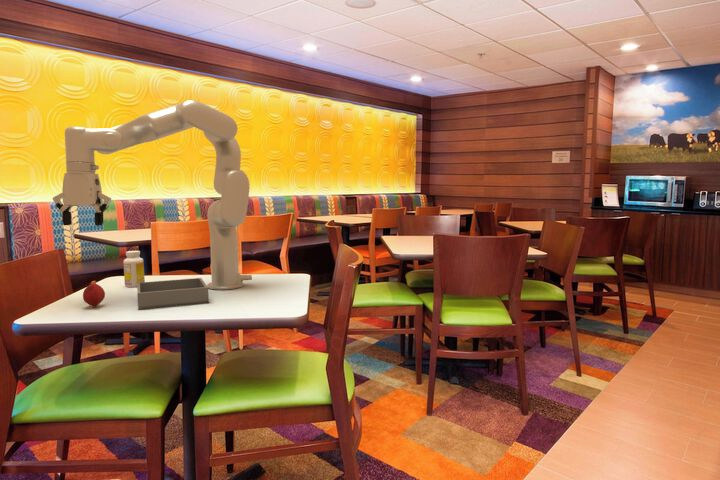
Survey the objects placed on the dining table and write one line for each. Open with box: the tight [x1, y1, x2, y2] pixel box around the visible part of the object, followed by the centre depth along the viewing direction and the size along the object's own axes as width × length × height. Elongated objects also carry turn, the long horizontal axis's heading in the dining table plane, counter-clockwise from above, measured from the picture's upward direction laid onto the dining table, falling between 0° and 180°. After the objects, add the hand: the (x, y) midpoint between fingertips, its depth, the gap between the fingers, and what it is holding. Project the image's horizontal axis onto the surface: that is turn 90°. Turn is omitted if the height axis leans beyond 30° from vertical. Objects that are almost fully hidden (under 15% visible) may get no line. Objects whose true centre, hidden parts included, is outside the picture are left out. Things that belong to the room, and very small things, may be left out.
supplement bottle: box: [123, 250, 146, 288], centre depth 177 cm, size 7×7×13 cm
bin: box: [136, 277, 210, 311], centre depth 154 cm, size 20×18×5 cm
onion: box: [82, 280, 106, 308], centre depth 146 cm, size 6×6×8 cm
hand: (83, 225), depth 148 cm, fingers open, 9 cm apart
